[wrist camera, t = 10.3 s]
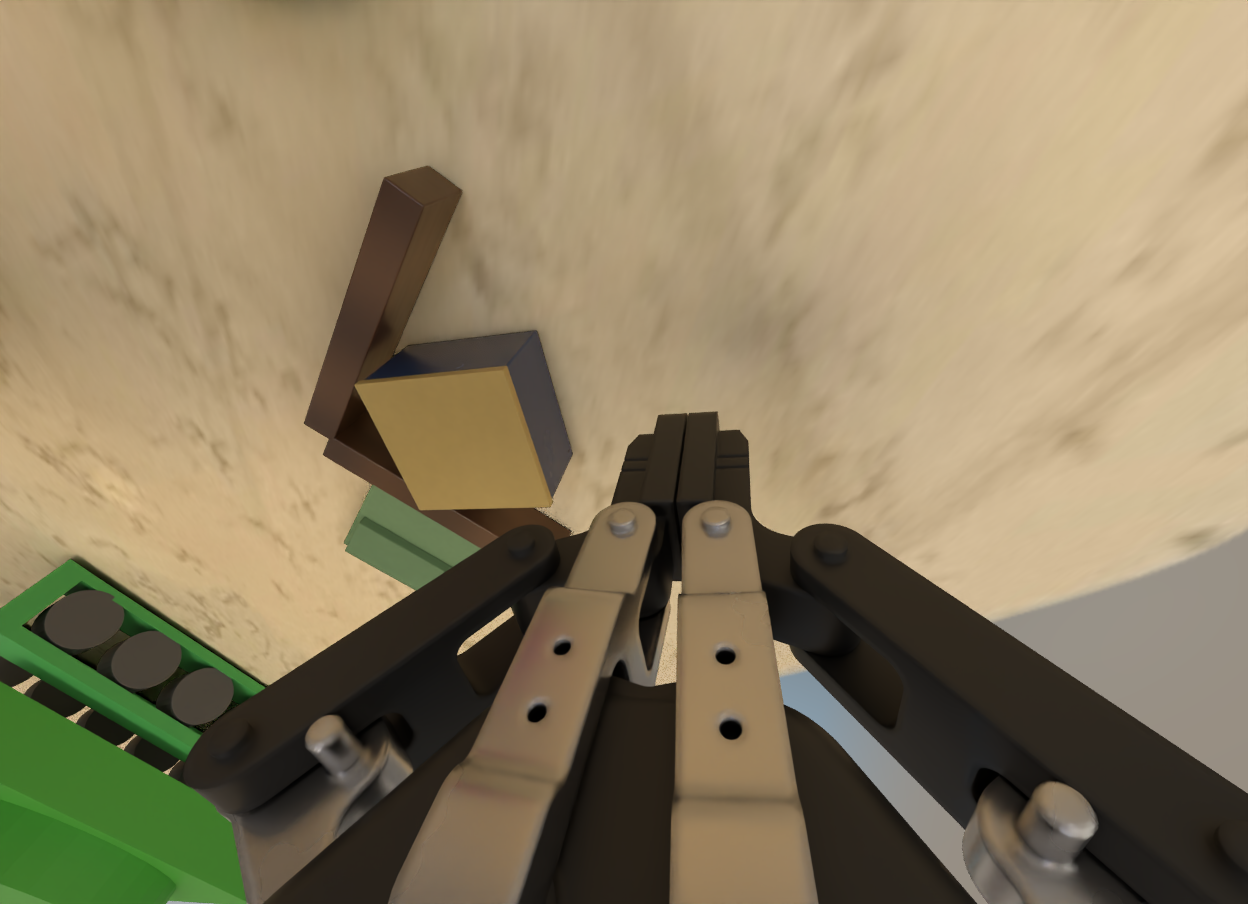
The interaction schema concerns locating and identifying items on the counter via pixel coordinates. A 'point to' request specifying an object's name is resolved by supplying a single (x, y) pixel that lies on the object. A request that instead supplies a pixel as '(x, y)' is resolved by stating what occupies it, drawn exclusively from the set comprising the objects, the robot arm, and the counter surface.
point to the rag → (404, 541)
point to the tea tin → (471, 422)
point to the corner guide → (393, 345)
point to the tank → (107, 754)
